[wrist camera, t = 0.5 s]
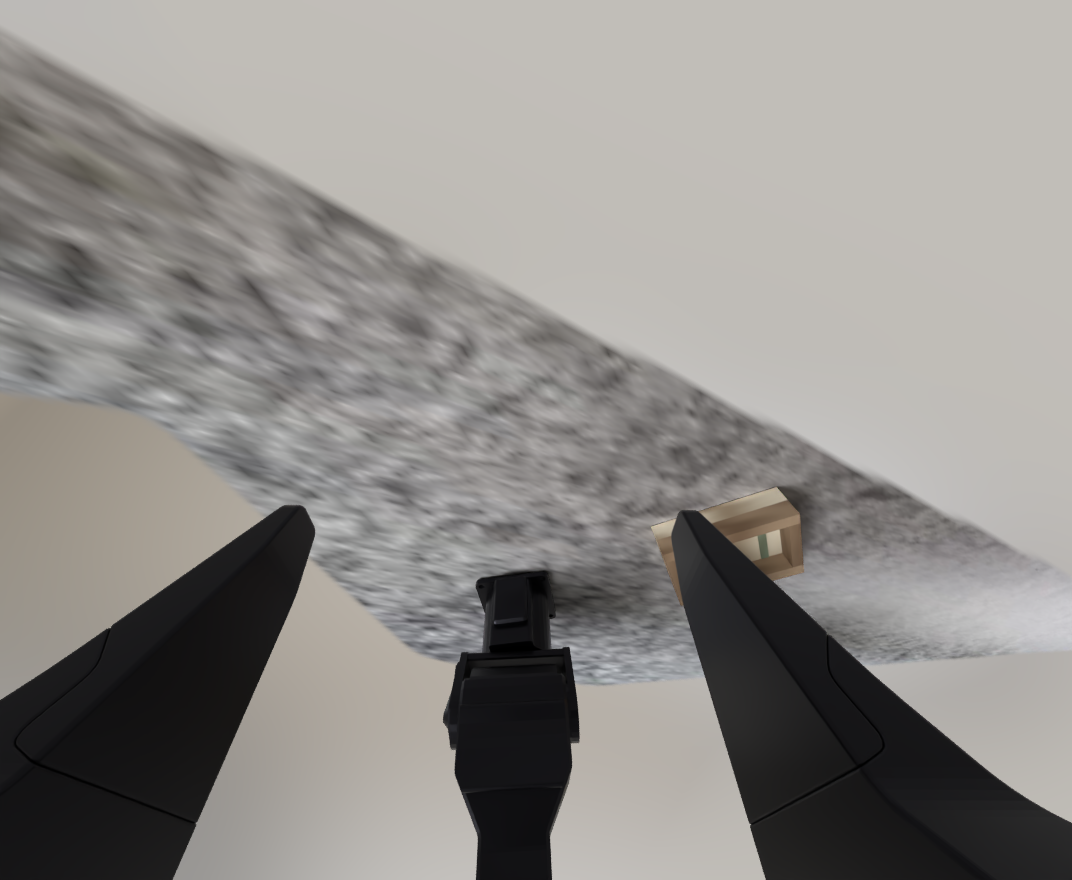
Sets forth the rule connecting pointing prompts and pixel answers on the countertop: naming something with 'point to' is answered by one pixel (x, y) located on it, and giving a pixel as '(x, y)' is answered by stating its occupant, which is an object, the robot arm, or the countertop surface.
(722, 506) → the tray
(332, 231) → the countertop surface
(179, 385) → the countertop surface
